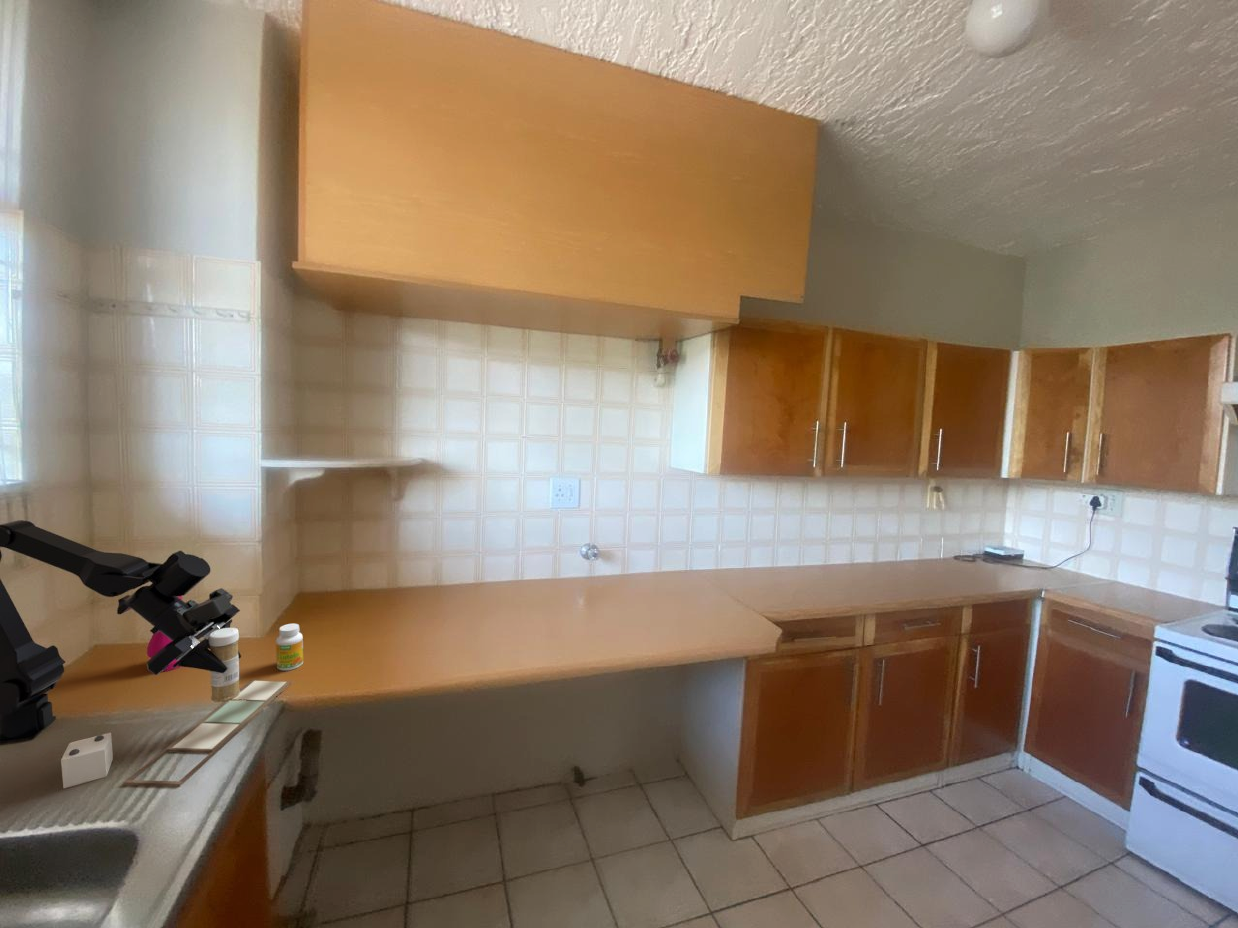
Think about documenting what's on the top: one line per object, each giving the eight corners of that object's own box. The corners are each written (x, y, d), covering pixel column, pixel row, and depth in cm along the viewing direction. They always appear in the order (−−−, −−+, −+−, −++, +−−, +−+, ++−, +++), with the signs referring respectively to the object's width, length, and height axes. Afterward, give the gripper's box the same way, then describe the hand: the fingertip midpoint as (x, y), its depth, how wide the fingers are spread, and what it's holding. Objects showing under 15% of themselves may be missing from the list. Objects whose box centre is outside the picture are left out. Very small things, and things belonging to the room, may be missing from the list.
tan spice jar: (236, 687, 102) (234, 624, 101) (243, 696, 100) (241, 632, 98) (207, 696, 99) (205, 631, 97) (214, 706, 96) (212, 639, 95)
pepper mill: (155, 676, 114) (150, 592, 111) (142, 666, 117) (137, 584, 115) (194, 663, 120) (190, 582, 118) (180, 654, 124) (176, 575, 121)
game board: (123, 784, 84) (123, 781, 84) (250, 682, 114) (250, 679, 114) (179, 786, 84) (179, 783, 84) (291, 683, 114) (291, 681, 114)
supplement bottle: (277, 673, 118) (276, 634, 117) (276, 662, 122) (275, 625, 121) (304, 667, 121) (303, 629, 120) (302, 657, 125) (301, 620, 124)
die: (63, 788, 82) (60, 756, 82) (72, 769, 86) (69, 739, 86) (106, 776, 85) (104, 745, 84) (112, 758, 89) (110, 729, 88)
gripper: (163, 602, 87) (236, 661, 90) (228, 566, 105) (286, 616, 108) (113, 646, 86) (188, 703, 90) (187, 602, 105) (247, 651, 108)
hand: (232, 664), depth 99 cm, fingers closed on tan spice jar, 4 cm apart
